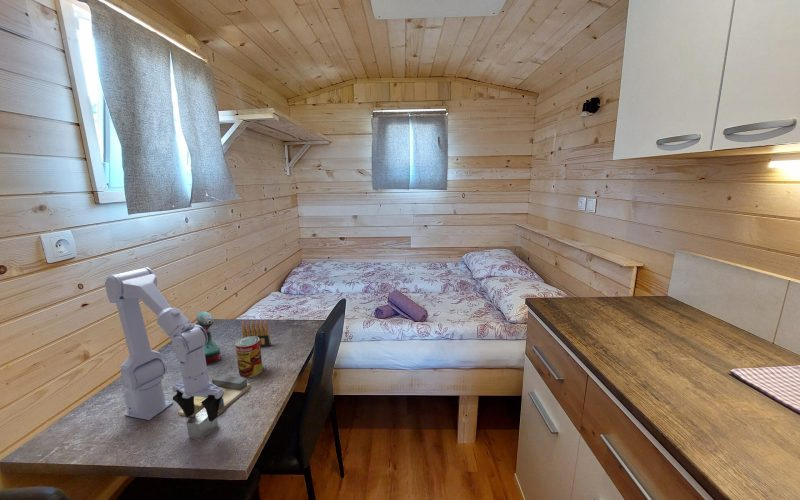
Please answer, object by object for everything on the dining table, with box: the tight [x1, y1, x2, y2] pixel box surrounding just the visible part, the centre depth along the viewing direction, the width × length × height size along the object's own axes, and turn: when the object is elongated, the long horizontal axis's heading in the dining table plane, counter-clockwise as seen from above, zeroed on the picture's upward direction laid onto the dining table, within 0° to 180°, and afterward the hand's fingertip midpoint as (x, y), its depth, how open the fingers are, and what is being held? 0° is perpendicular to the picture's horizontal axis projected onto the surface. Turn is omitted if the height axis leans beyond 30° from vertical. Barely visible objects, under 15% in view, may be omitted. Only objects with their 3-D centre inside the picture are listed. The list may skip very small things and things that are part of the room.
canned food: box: [235, 336, 263, 379], centre depth 121 cm, size 8×8×12 cm
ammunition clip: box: [241, 318, 272, 348], centre depth 139 cm, size 11×2×12 cm, turn 98°
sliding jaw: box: [193, 395, 224, 415], centre depth 100 cm, size 11×6×3 cm, turn 76°
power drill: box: [196, 310, 221, 364], centre depth 128 cm, size 7×16×20 cm, turn 41°
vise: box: [177, 374, 252, 418], centre depth 106 cm, size 12×17×4 cm
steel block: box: [186, 408, 219, 441], centre depth 92 cm, size 4×6×5 cm, turn 166°
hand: (201, 417), depth 92 cm, fingers open, 7 cm apart
